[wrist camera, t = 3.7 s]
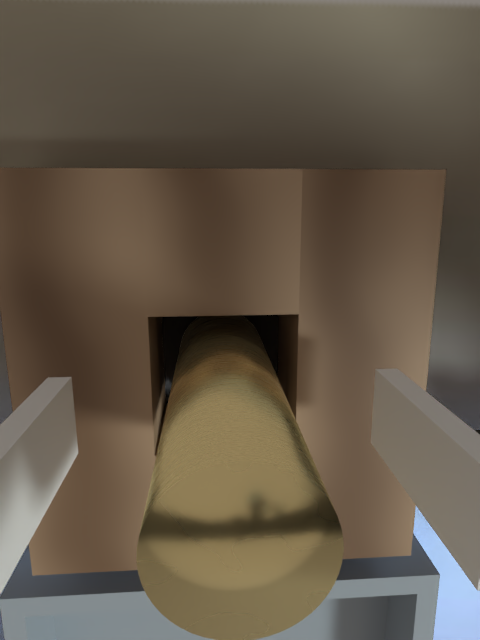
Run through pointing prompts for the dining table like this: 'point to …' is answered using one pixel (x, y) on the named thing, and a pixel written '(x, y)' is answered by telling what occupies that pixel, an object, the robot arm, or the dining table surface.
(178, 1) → the dining table surface
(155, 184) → the block
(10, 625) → the tray
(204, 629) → the pin
